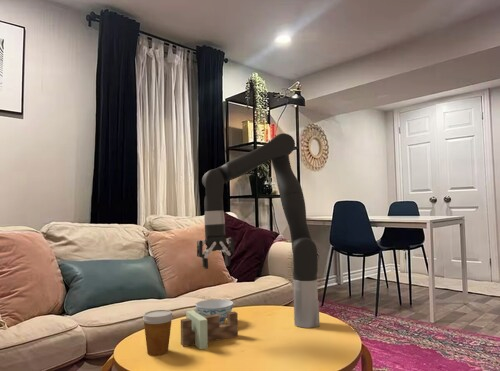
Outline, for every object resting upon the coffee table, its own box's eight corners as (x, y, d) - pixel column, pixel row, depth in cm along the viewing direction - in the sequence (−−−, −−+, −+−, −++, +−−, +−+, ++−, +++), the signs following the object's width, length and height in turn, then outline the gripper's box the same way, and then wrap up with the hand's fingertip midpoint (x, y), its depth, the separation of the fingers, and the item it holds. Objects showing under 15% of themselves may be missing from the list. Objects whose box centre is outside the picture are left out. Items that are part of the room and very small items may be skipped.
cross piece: (186, 337, 130) (186, 311, 131) (193, 336, 131) (192, 310, 132) (200, 349, 118) (199, 320, 119) (207, 348, 119) (207, 319, 120)
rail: (234, 334, 133) (234, 311, 133) (237, 336, 130) (237, 312, 131) (180, 344, 123) (180, 319, 124) (183, 346, 121) (182, 321, 122)
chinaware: (204, 331, 137) (204, 310, 137) (190, 321, 150) (190, 302, 150) (240, 324, 144) (239, 304, 145) (223, 316, 157) (223, 297, 158)
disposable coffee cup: (179, 349, 119) (179, 310, 120) (160, 359, 110) (160, 318, 111) (155, 345, 123) (155, 308, 124) (135, 355, 114) (135, 315, 115)
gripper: (227, 222, 145) (229, 264, 143) (193, 224, 138) (195, 268, 136) (236, 222, 138) (238, 265, 137) (200, 224, 131) (202, 270, 130)
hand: (216, 267), depth 137 cm, fingers open, 8 cm apart
